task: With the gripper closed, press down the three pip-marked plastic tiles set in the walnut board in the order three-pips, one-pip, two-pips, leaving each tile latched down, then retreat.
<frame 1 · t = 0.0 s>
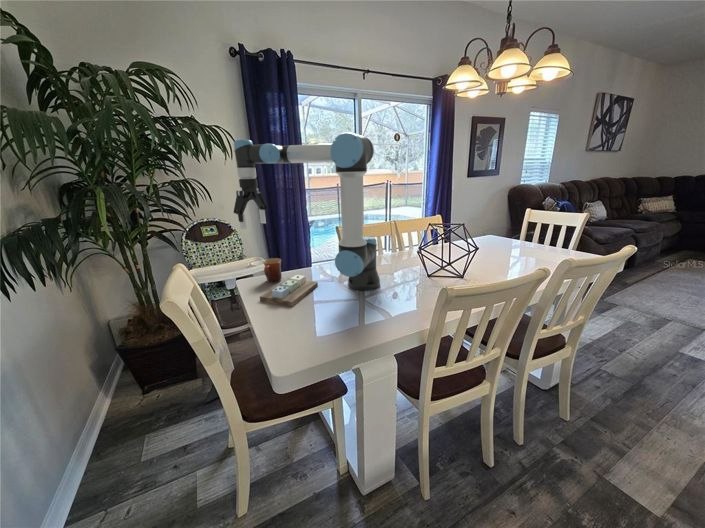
hand: (254, 226, 133), 28 cm above the table, fingers open, 13 cm apart
tile three: (280, 291, 121), point 4 cm above the table, slide at 0.0 cm
tile two: (289, 285, 128), point 4 cm above the table, slide at 0.0 cm
mug: (273, 281, 142), on the table
board: (290, 293, 129), on the table
tile one: (298, 280, 134), point 4 cm above the table, slide at 0.0 cm
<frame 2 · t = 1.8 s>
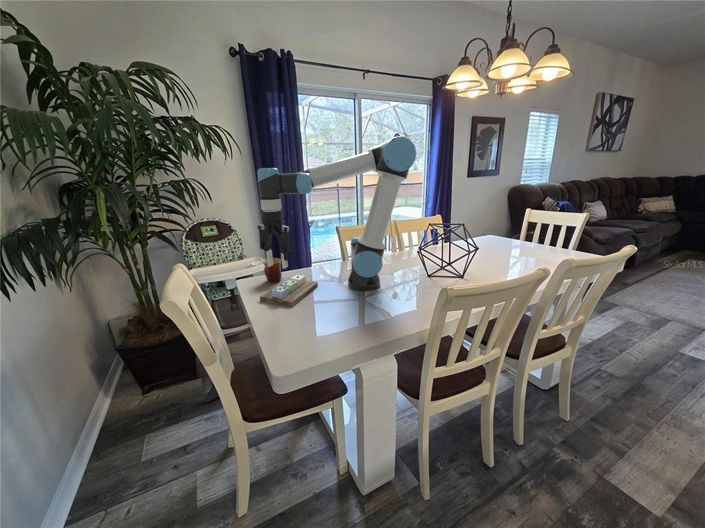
hand: (277, 266, 118), 15 cm above the table, fingers open, 6 cm apart
nothing on the table moved.
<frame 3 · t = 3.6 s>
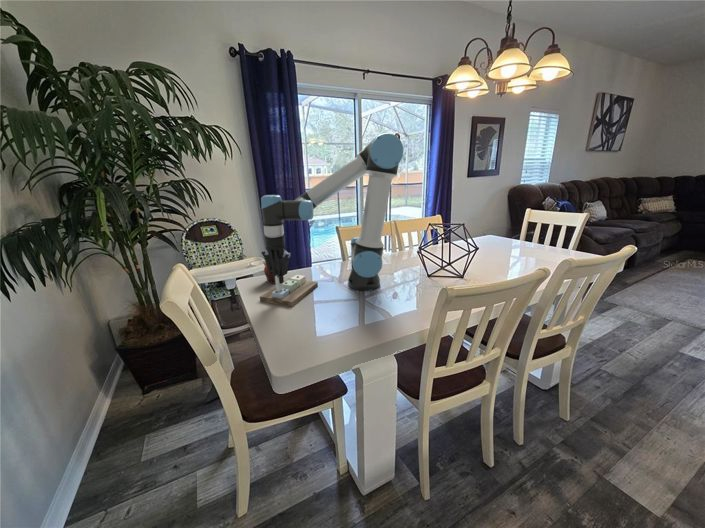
hand: (279, 289, 121), 5 cm above the table, fingers closed
tile three: (280, 294, 122), point 3 cm above the table, slide at 1.0 cm, touching gripper
everything else where it was.
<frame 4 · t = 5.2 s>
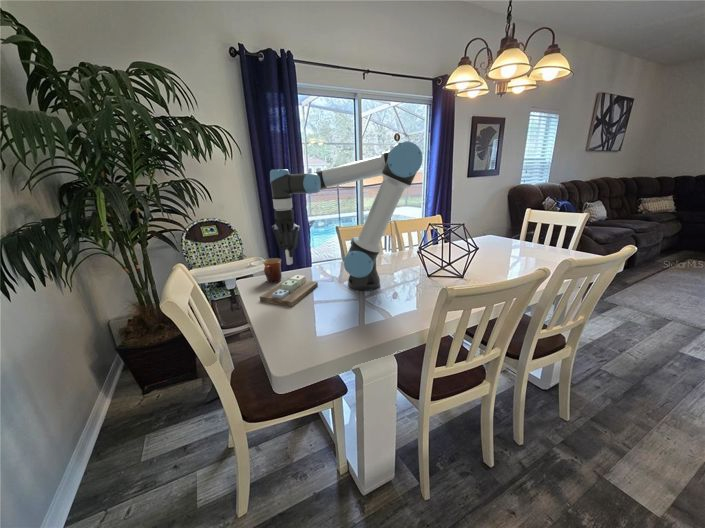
hand: (289, 263, 124), 14 cm above the table, fingers closed
tile three: (281, 295, 122), point 2 cm above the table, slide at 1.6 cm
everything else where it was.
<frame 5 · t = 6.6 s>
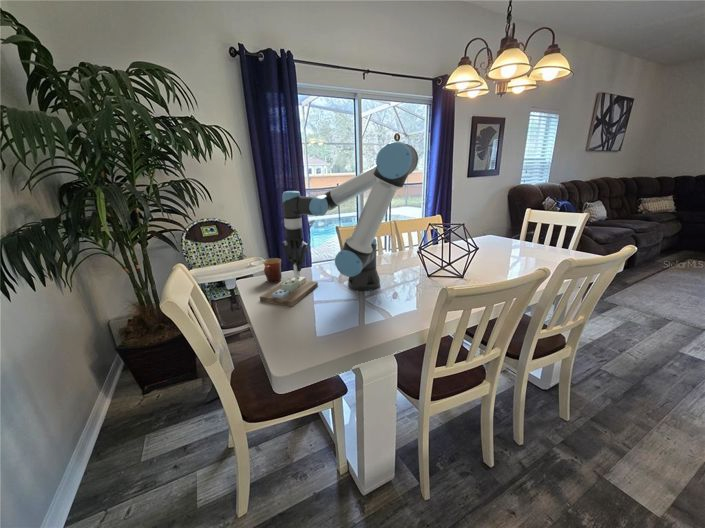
hand: (297, 277, 133), 5 cm above the table, fingers closed
tile one: (298, 281, 134), point 3 cm above the table, slide at 0.7 cm, touching gripper
everything else where it was.
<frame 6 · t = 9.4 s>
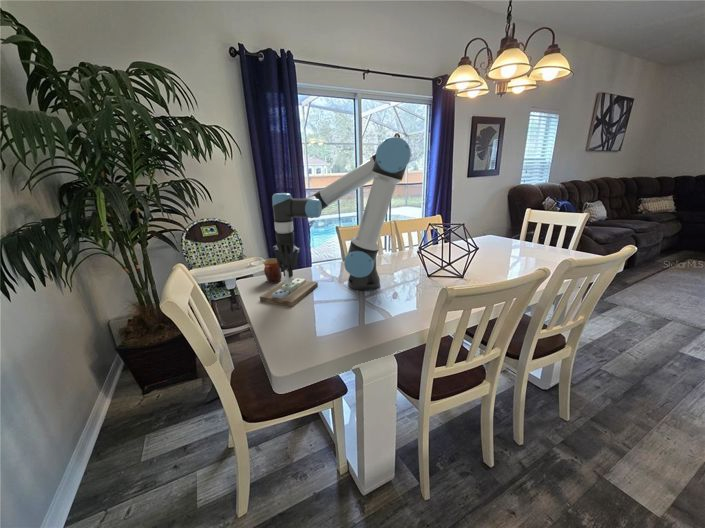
hand: (289, 283, 127), 5 cm above the table, fingers closed
tile two: (290, 287, 128), point 3 cm above the table, slide at 0.9 cm, touching gripper
tile one: (298, 283, 134), point 2 cm above the table, slide at 1.6 cm
everything else where it was.
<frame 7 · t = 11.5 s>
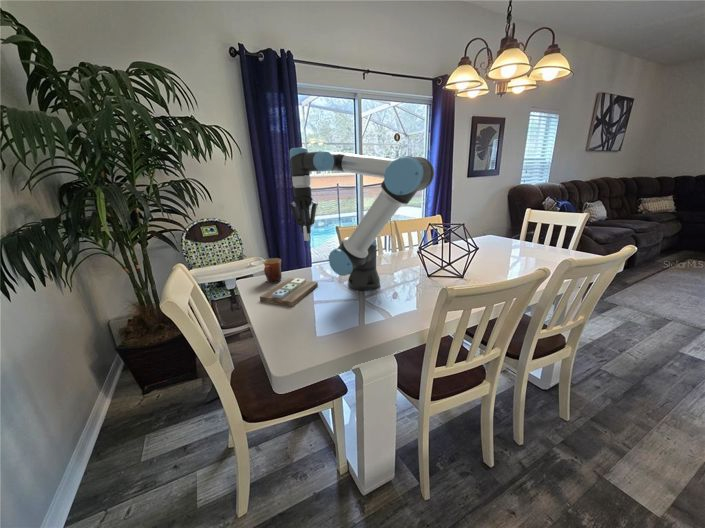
hand: (307, 240, 130), 22 cm above the table, fingers closed
tile two: (290, 289, 128), point 2 cm above the table, slide at 1.7 cm
everything else where it was.
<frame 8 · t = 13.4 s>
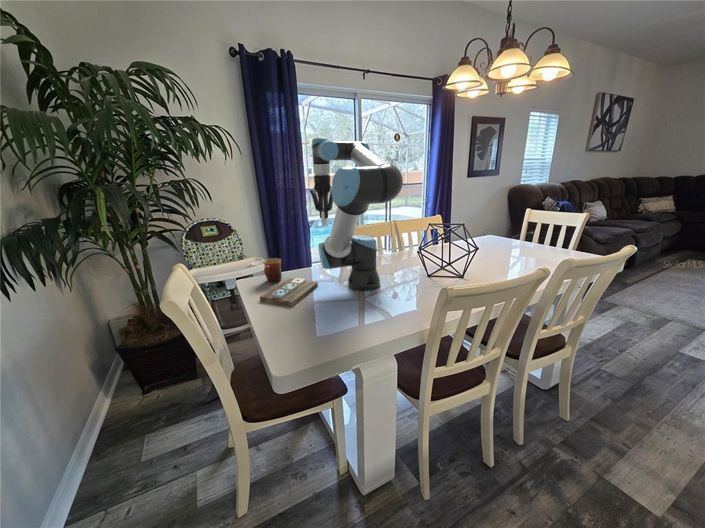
hand: (324, 225, 140), 26 cm above the table, fingers closed
nothing on the table moved.
at the end: tile three slide at 1.6 cm; tile one slide at 1.6 cm; tile two slide at 1.7 cm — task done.
